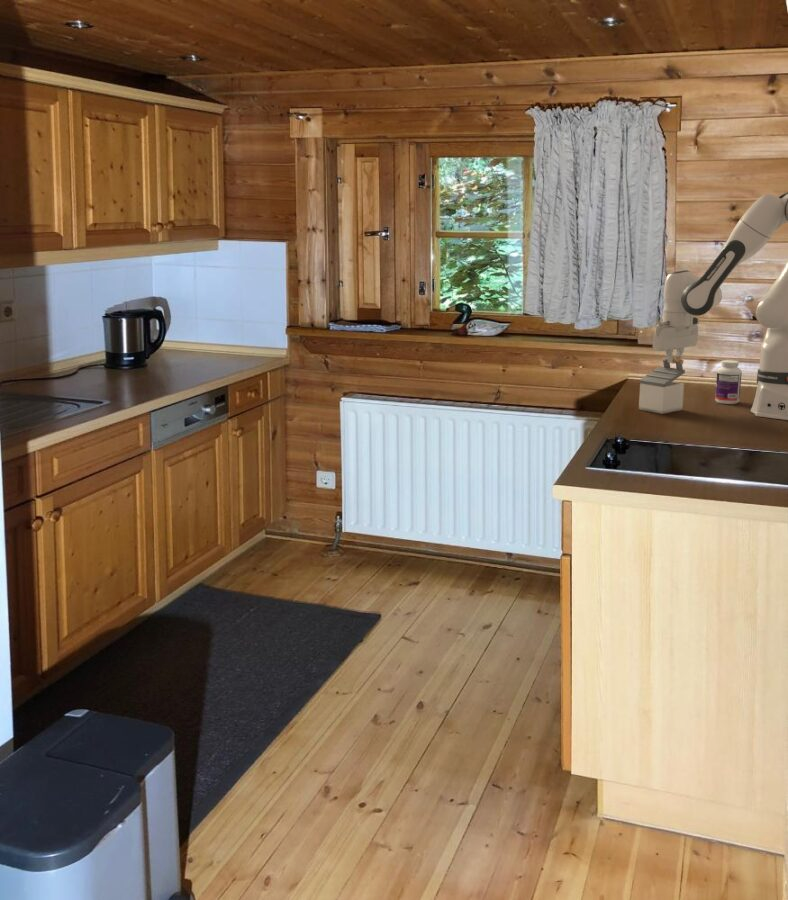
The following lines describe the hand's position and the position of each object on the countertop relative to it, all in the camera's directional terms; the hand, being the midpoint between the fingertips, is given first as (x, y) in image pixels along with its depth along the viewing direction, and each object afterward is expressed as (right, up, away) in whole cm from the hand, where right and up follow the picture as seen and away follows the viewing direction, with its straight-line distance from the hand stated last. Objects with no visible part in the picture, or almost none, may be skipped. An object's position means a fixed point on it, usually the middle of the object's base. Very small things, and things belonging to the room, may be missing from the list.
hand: (674, 361), depth 351 cm
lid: (-4, -5, -2) cm, 6 cm away
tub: (-5, -16, 0) cm, 17 cm away
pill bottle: (+21, -13, +12) cm, 28 cm away
